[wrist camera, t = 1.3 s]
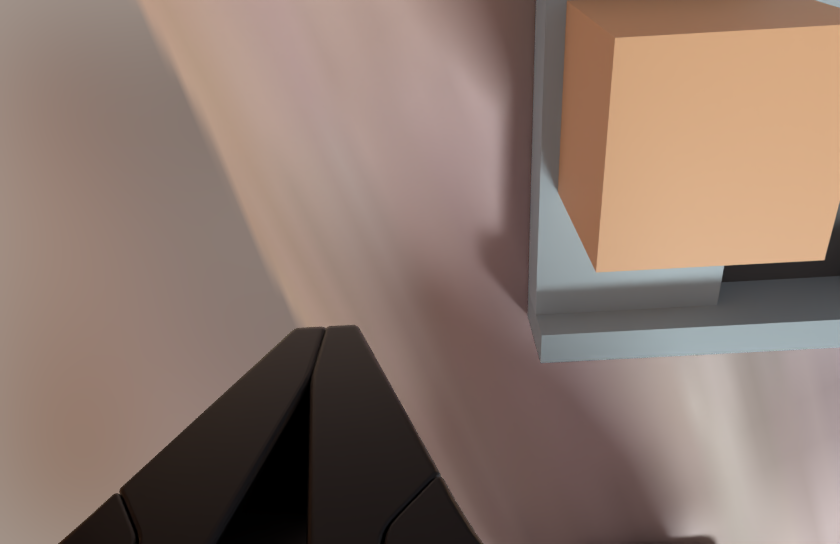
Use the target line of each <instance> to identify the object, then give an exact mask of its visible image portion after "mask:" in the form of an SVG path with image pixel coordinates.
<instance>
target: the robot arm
mask: <svg viewBox="0 0 840 544" xmlns="http://www.w3.org/2000/svg"><path fill="white" fill-rule="evenodd" d="M119 492H120V494H118V493H116V494H114V495H112V496H111V497H110V498H109V499H108V500H107V501H106V502H105V503H103V505H101V506H100V507H99V508H98V509H97V510H96V511H95V512H94V513H93V514H91V515H90V516H89V517H88V518H87V519H86V520H85V521H84V522H82V523H81V524H80V525H79V526H78V527H77V528H76V529H74V530H73V531H72V532H71V533H70V534H69V535H68V536H66V537H65V539H63V540H62V541H61V542H60V543H58V544H483V543H482V541H481V540H480V538H479V537H478V536H477V534H476V533H475V531H474V530H473V528H472V526H471V525H470V523H469V522H468V520H467V518H466V517H465V515H464V514H463V512H462V510H461V509H460V507H459V505H458V504H457V502H456V501H455V499H454V497H453V495H452V493H451V492H450V490H449V488H448V486H447V484H446V483H445V481H444V479H443V478H442V477H441V475H440V473H439V471H438V469H437V467H436V465H435V464H434V462H433V460H432V458H431V456H430V455H429V453H428V451H427V449H426V447H425V446H424V444H423V442H422V440H421V438H420V437H419V435H418V433H417V431H416V429H415V428H414V426H413V424H412V422H411V420H410V419H409V417H408V415H407V413H406V411H405V410H404V408H403V406H402V404H401V402H400V401H399V399H398V397H397V395H396V393H395V392H394V390H393V388H392V386H391V384H390V383H389V381H388V379H387V377H386V375H385V374H384V372H383V370H382V368H381V366H380V365H379V363H378V361H377V359H376V358H375V356H374V354H373V352H372V350H371V349H370V347H369V345H368V343H367V341H366V340H365V338H364V336H363V334H362V332H361V331H360V329H359V328H358V327H357V326H356V325H343V326H330V327H327V328H325V327H306V328H296V329H294V330H293V331H292V332H290V333H289V334H288V335H287V336H286V337H285V338H284V339H283V340H282V341H281V342H280V343H279V344H277V345H276V346H275V347H274V348H273V349H272V350H271V351H270V352H269V353H268V354H266V355H265V356H264V357H263V358H262V359H261V360H260V361H259V362H258V363H257V364H256V365H255V366H253V367H252V368H251V369H250V370H249V371H248V372H247V373H246V374H245V375H244V376H242V377H241V378H240V379H239V380H238V381H237V382H236V383H235V384H234V385H233V386H232V387H230V388H229V389H228V390H227V391H226V392H225V393H224V394H223V395H222V396H221V397H220V398H218V399H217V400H216V401H215V402H214V403H213V404H212V405H211V406H210V407H209V408H208V409H206V410H205V411H204V412H203V413H202V414H201V415H200V416H199V417H198V418H197V419H196V420H194V421H193V422H192V423H191V424H190V425H189V426H188V427H187V428H186V429H185V430H183V432H181V433H180V434H179V435H178V436H177V437H176V438H175V439H174V440H173V441H171V443H169V444H168V445H167V446H166V447H165V448H164V449H163V450H162V451H161V452H159V453H158V454H157V455H156V456H155V457H154V458H153V459H152V460H151V461H150V462H149V463H148V464H146V465H145V466H144V467H143V468H142V469H141V470H140V471H139V472H138V473H137V474H135V475H134V476H133V477H132V478H131V479H130V480H129V481H128V482H127V483H126V484H125V485H123V486H122V487H121V488H120V491H119Z"/></svg>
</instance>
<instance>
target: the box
mask: <svg viewBox="0 0 840 544" xmlns="http://www.w3.org/2000/svg"><path fill="white" fill-rule="evenodd" d="M567 1H568V0H536V15H535V53H534V90H533V128H532V166H531V204H530V242H529V280H528V319H529V323H530V326H531V330H532V334H533V337H534V341H535V344H536V348H537V352H538V355H539V359H540V363H553V362H572V361H591V360H610V359H629V358H648V357H667V356H686V355H705V354H724V353H743V352H762V351H781V350H800V349H819V348H838V347H840V203H839V206H838V210H837V214H836V218H835V222H834V225H833V229H832V233H831V237H830V241H829V244H828V248H827V252H826V256H825V260H818V261H800V262H781V263H763V264H745V265H726V266H708V267H689V268H671V269H652V270H634V271H615V272H597V273H596V271H595V269H594V267H593V265H592V263H591V261H590V259H589V257H588V255H587V252H586V250H585V248H584V246H583V244H582V242H581V240H580V238H579V236H578V234H577V232H576V229H575V227H574V225H573V223H572V221H571V219H570V217H569V215H568V213H567V211H566V209H565V206H564V204H563V202H562V200H561V198H560V196H559V194H558V177H559V156H560V135H561V114H562V92H563V71H564V50H565V28H566V7H567ZM816 1H819V2H822V3H826V4H829V5H832V6H835V7H839V8H840V0H816Z"/></svg>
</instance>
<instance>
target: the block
mask: <svg viewBox="0 0 840 544" xmlns="http://www.w3.org/2000/svg"><path fill="white" fill-rule="evenodd" d="M558 194H559V196H560V198H561V200H562V202H563V204H564V206H565V209H566V211H567V213H568V215H569V217H570V219H571V221H572V223H573V225H574V227H575V229H576V232H577V234H578V236H579V238H580V240H581V242H582V244H583V246H584V248H585V250H586V252H587V255H588V257H589V259H590V261H591V263H592V265H593V267H594V269H595V271H596V273H597V272H615V271H634V270H652V269H671V268H689V267H708V266H726V265H745V264H763V263H781V262H800V261H818V260H825V256H826V252H827V248H828V244H829V241H830V237H831V233H832V229H833V225H834V222H835V218H836V214H837V210H838V206H839V203H840V8H839V7H835V6H832V5H829V4H826V3H822V2H819V1H816V0H568V1H567V7H566V28H565V50H564V71H563V92H562V114H561V135H560V156H559V177H558Z"/></svg>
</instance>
